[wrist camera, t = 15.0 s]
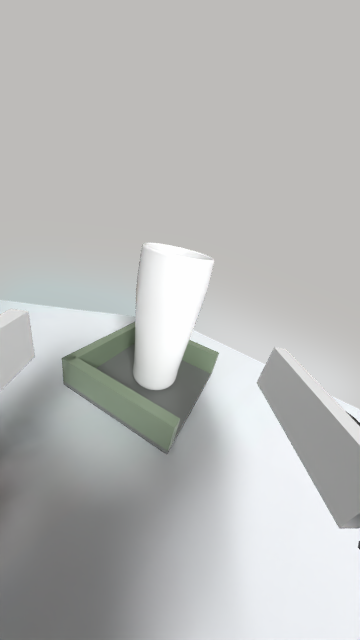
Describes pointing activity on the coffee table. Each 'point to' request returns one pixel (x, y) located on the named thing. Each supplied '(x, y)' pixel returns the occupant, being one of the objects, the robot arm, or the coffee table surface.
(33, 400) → the coffee table surface
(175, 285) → the drinking glass
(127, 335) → the tray
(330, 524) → the coffee table surface
